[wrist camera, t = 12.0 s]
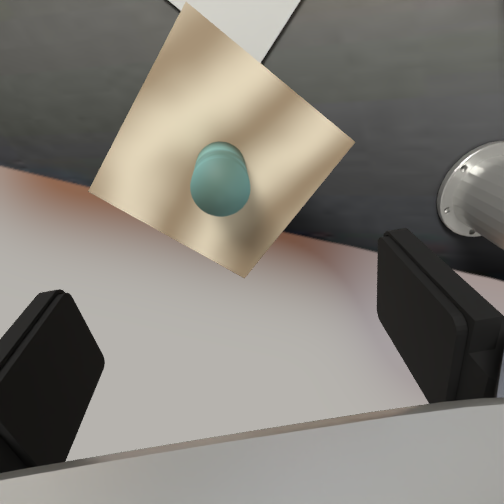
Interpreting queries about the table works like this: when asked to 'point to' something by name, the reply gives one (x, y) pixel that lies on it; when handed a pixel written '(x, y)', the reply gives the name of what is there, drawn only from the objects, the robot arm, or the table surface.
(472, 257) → the table surface
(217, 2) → the mat
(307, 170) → the lid
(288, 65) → the table surface
